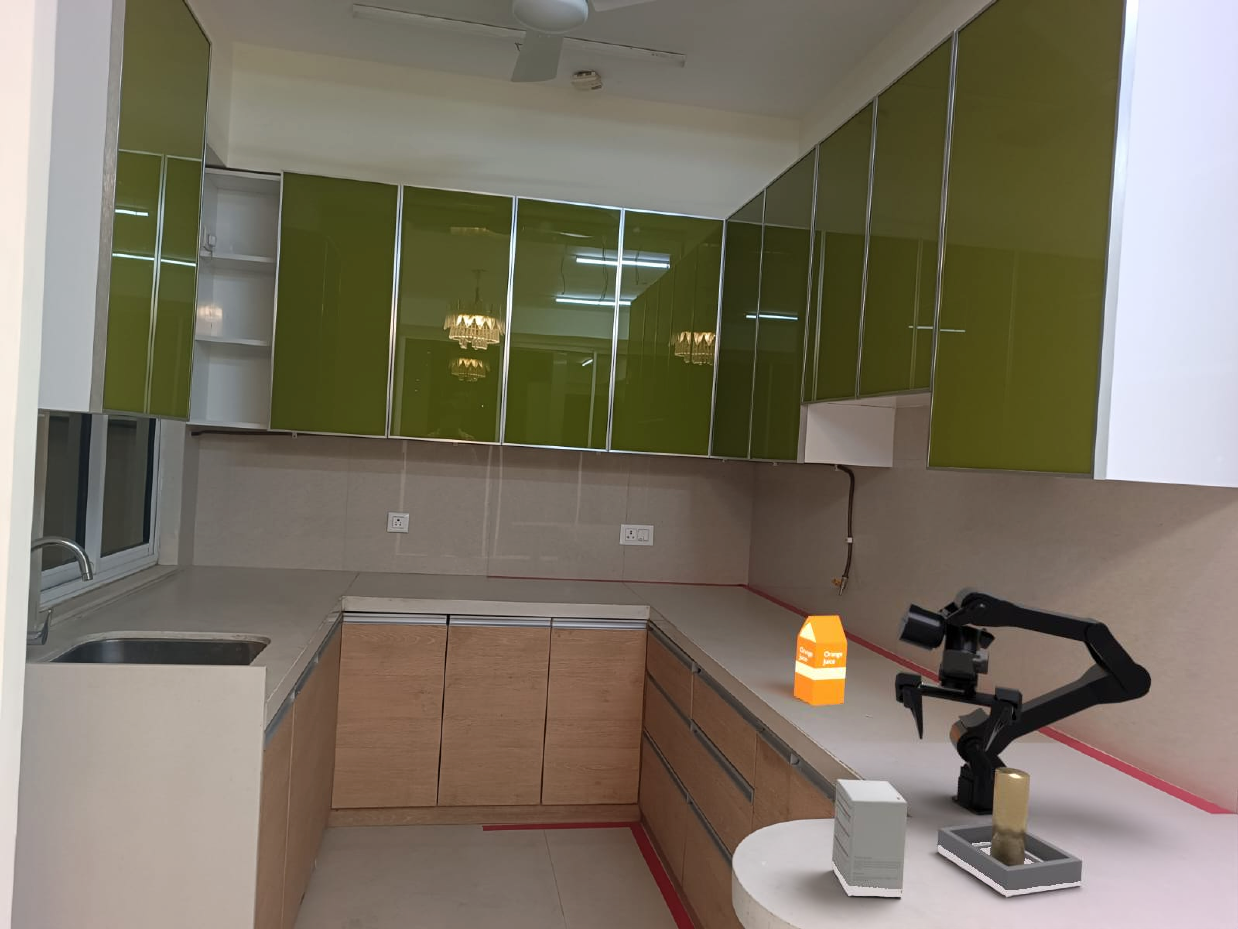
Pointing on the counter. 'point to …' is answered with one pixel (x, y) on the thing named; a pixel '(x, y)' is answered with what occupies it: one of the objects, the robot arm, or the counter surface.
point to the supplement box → (869, 834)
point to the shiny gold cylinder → (1010, 816)
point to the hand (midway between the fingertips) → (952, 743)
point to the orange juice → (821, 661)
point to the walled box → (1044, 871)
